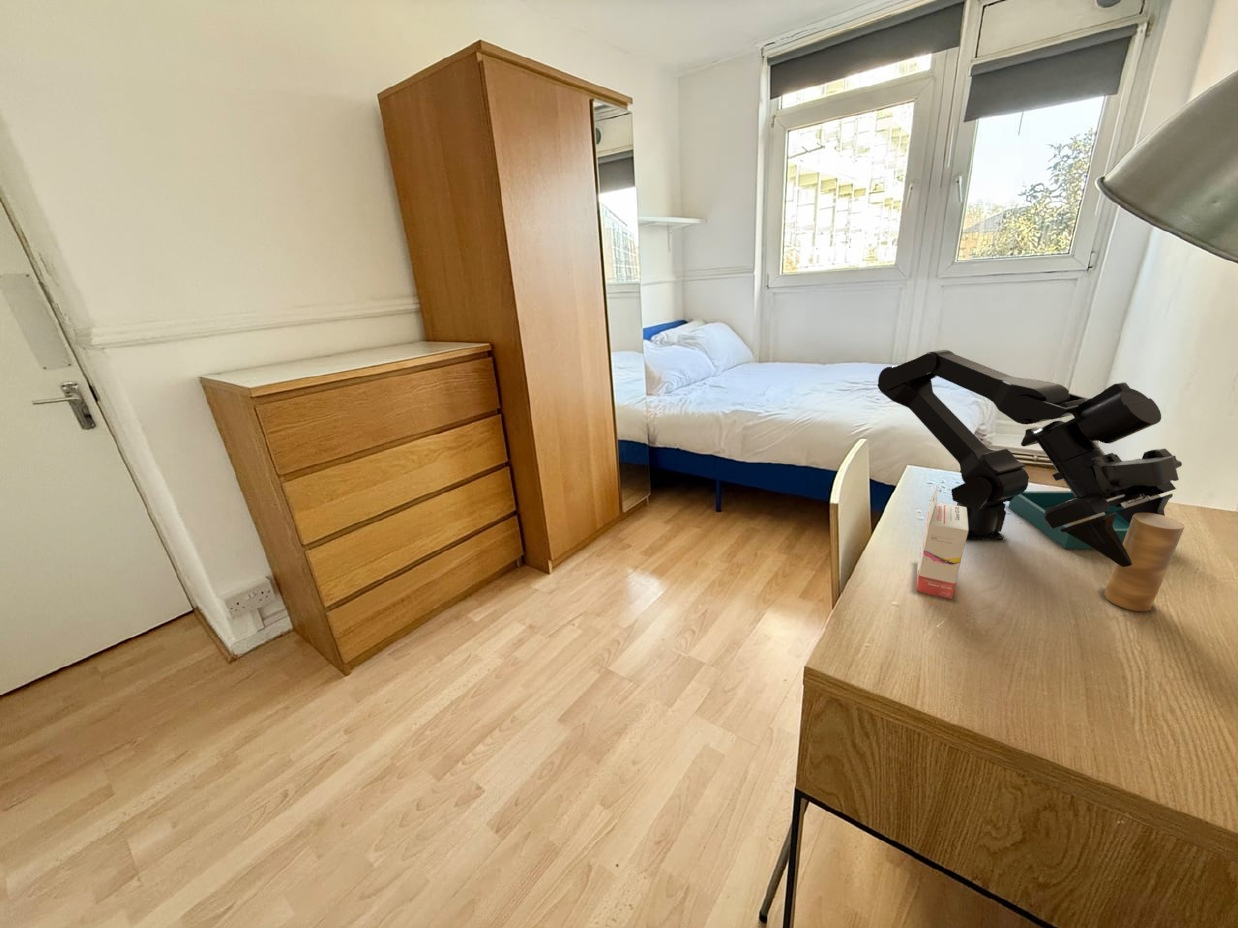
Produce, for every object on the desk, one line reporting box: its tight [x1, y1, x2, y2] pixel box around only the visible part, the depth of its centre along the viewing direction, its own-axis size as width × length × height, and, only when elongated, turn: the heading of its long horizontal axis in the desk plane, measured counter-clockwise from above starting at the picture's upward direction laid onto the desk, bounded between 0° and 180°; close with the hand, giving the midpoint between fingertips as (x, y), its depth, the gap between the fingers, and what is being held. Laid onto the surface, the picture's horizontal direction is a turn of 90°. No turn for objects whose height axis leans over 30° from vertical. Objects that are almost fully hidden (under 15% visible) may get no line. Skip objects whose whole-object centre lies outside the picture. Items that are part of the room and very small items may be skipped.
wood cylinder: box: [1104, 513, 1186, 612], centre depth 68 cm, size 5×5×13 cm
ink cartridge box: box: [916, 485, 968, 600], centre depth 74 cm, size 9×5×15 cm, turn 149°
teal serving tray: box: [1007, 490, 1130, 550], centre depth 89 cm, size 16×16×4 cm
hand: (1148, 558), depth 67 cm, fingers open, 9 cm apart
